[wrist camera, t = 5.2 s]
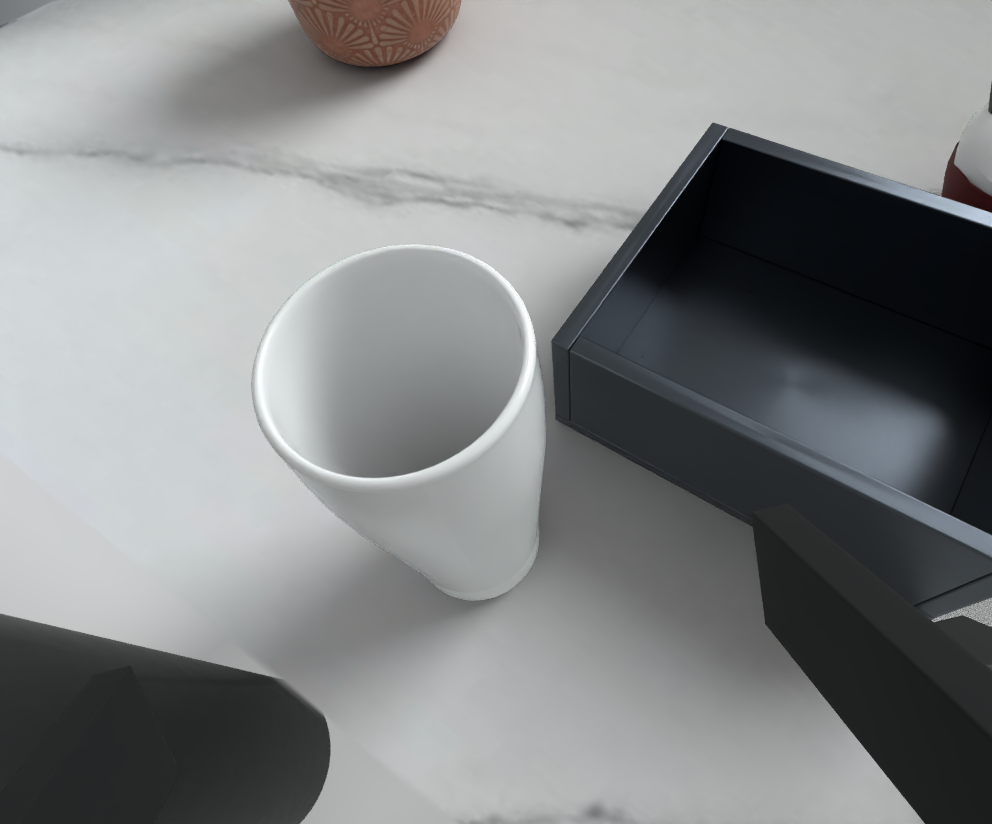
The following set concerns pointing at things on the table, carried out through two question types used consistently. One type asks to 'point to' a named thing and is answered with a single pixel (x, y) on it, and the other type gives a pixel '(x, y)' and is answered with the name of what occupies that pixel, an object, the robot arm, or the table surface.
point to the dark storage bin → (803, 357)
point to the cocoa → (972, 163)
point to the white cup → (413, 410)
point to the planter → (375, 28)
